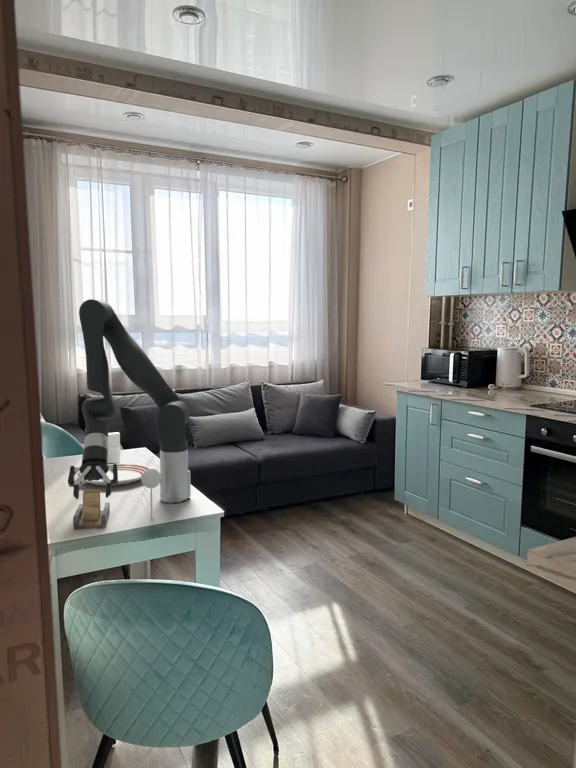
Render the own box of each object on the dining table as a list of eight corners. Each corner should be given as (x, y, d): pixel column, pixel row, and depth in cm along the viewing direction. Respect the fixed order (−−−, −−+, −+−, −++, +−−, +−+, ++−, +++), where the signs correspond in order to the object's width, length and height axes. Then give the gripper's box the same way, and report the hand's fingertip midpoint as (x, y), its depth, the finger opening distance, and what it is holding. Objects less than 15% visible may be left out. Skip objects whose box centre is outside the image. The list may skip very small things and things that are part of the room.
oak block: (84, 515, 168) (84, 490, 167) (100, 515, 169) (100, 489, 168) (83, 520, 164) (82, 494, 163) (99, 519, 165) (98, 493, 164)
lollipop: (141, 520, 168) (140, 472, 166) (141, 514, 173) (140, 467, 172) (162, 519, 170) (162, 471, 168) (161, 512, 175) (161, 466, 173)
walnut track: (79, 515, 172) (79, 504, 171) (109, 513, 173) (109, 502, 173) (73, 529, 160) (73, 517, 160) (105, 527, 162) (105, 515, 161)
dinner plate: (74, 473, 218) (74, 465, 218) (146, 467, 228) (146, 459, 228) (76, 493, 193) (76, 484, 192) (156, 486, 203) (156, 477, 203)
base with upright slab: (116, 457, 242) (115, 430, 241) (123, 462, 235) (122, 434, 234) (95, 460, 237) (94, 433, 236) (101, 465, 230) (101, 436, 229)
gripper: (70, 445, 171) (64, 492, 161) (118, 443, 174) (116, 490, 164) (73, 457, 177) (68, 504, 167) (119, 456, 180) (117, 501, 170)
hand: (92, 497), depth 166 cm, fingers open, 8 cm apart
